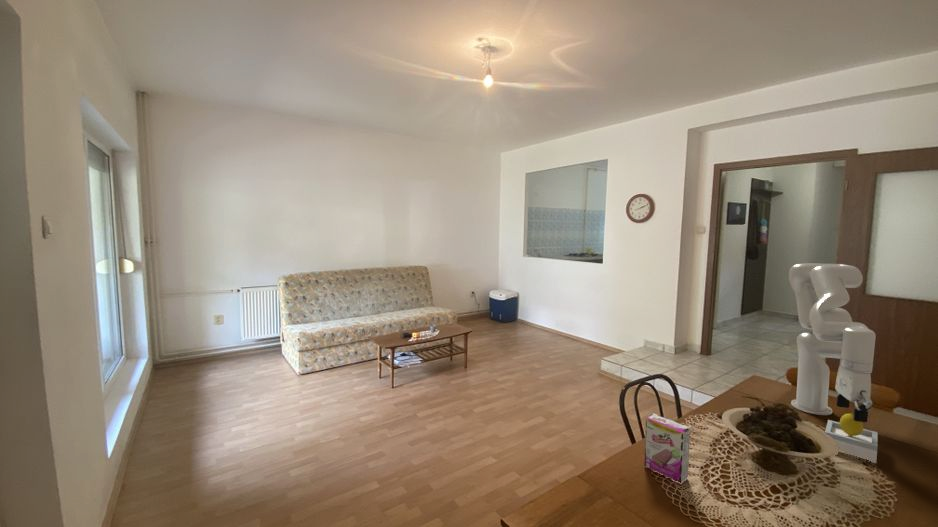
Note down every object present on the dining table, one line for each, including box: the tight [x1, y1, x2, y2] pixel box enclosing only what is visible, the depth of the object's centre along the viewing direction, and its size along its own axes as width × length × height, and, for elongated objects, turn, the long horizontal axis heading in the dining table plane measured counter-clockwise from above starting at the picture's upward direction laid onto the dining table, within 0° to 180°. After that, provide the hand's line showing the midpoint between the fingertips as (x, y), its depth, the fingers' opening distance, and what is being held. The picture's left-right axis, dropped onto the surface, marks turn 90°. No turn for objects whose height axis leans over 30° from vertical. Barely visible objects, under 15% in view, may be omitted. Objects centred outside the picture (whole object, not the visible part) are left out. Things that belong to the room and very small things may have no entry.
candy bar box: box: [643, 413, 691, 483], centre depth 114 cm, size 11×5×16 cm, turn 37°
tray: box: [824, 419, 879, 464], centre depth 127 cm, size 12×12×6 cm
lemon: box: [839, 412, 864, 437], centre depth 127 cm, size 6×6×8 cm
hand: (851, 413), depth 127 cm, fingers open, 9 cm apart
